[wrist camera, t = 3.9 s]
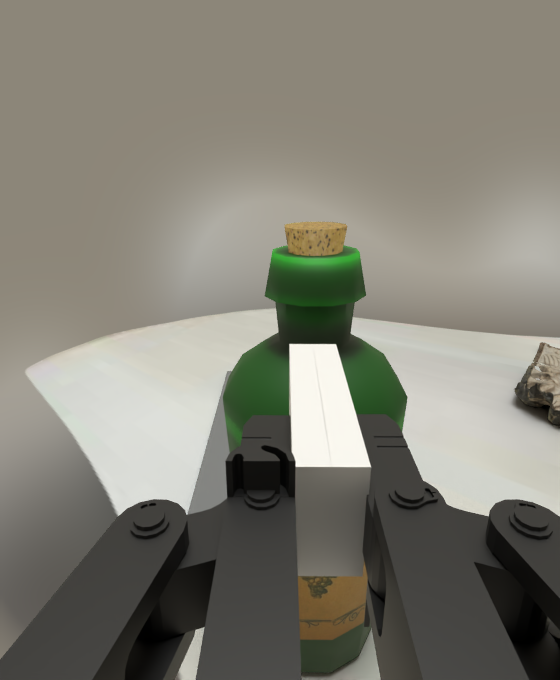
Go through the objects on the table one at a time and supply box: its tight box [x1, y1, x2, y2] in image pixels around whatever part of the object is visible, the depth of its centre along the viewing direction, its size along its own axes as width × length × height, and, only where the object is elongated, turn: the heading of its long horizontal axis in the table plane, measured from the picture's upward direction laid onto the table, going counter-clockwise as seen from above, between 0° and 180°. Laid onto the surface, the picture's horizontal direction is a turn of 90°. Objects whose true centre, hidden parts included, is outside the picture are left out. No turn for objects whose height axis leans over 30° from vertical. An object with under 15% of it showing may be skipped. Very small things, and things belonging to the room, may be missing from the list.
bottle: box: [223, 222, 407, 673], centre depth 29 cm, size 11×11×28 cm
